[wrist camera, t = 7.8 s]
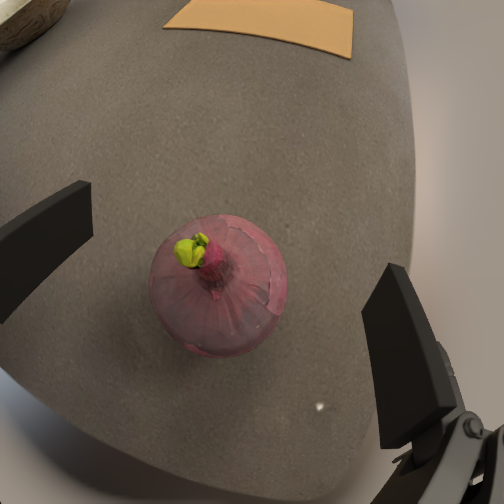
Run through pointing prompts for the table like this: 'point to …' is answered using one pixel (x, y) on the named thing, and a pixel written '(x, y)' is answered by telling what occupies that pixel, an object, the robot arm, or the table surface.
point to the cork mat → (274, 21)
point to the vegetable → (218, 285)
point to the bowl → (27, 20)
